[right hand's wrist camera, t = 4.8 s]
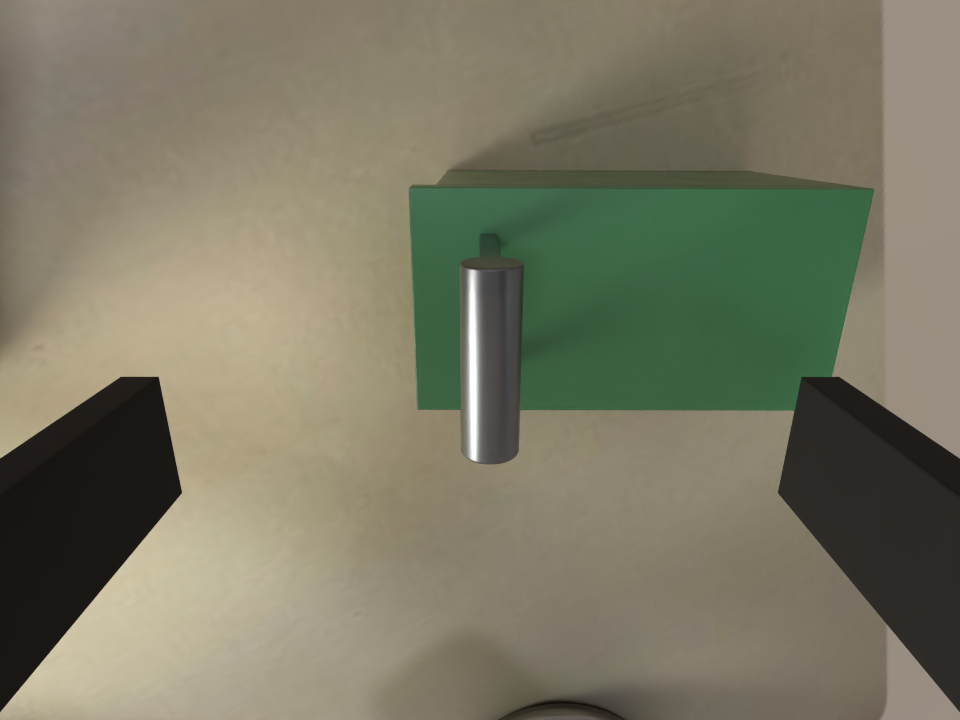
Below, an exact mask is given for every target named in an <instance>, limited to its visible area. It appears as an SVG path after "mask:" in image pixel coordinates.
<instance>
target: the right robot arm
mask: <svg viewBox="0 0 960 720" xmlns="http://www.w3.org/2000/svg"><path fill="white" fill-rule="evenodd" d="M181 493H182V490H181V485H180V480H179V476H178V471H177V466H176V461H175V456H174V451H173V446H172V441H171V436H170V431H169V426H168V421H167V416H166V411H165V407H164V402H163V397H162V392H161V387H160V382H159V377H120V378H119V379H117V380H116V381H114V382H113V383H111V384H110V385H108V386H107V387H105V388H104V389H102V390H101V391H99V392H98V393H96V394H95V395H94V396H92V397H91V398H89V399H88V400H86V401H85V402H83V403H82V404H80V405H79V406H77V407H76V408H74V409H73V410H71V411H70V412H68V413H67V414H65V415H64V416H63V417H61V418H60V419H58V420H57V421H55V422H54V423H52V424H51V425H49V426H48V427H46V428H45V429H43V430H42V431H40V432H39V433H37V434H36V435H34V436H33V437H32V438H30V439H29V440H27V441H26V442H24V443H23V444H21V445H20V446H18V447H17V448H15V449H14V450H12V451H11V452H9V453H8V454H6V455H5V456H3V457H2V458H1V459H0V712H1V710H2V709H3V708H4V707H5V706H6V704H7V703H8V702H9V701H10V700H11V698H12V697H13V696H14V695H15V694H16V692H17V691H18V690H19V689H20V688H21V686H22V685H23V684H24V683H25V681H26V680H27V679H28V678H29V677H30V675H31V674H32V673H33V672H34V671H35V669H36V668H37V667H38V666H39V665H40V663H41V662H42V661H43V660H44V659H45V657H46V656H47V655H48V654H49V653H50V651H51V650H52V649H53V648H54V647H55V645H56V644H57V643H58V642H59V641H60V639H61V638H62V637H63V636H64V634H65V633H66V632H67V631H68V630H69V628H70V627H71V626H72V625H73V624H74V622H75V621H76V620H77V619H78V618H79V616H80V615H81V614H82V613H83V612H84V610H85V609H86V608H87V607H88V606H89V604H90V603H91V602H92V601H93V600H94V598H95V597H96V596H97V595H98V594H99V592H100V591H101V590H102V589H103V587H104V586H105V585H106V584H107V583H108V581H109V580H110V579H111V578H112V577H113V575H114V574H115V573H116V572H117V571H118V569H119V568H120V567H121V566H122V565H123V563H124V562H125V561H126V560H127V559H128V557H129V556H130V555H131V554H132V553H133V551H134V550H135V549H136V548H137V547H138V545H139V544H140V543H141V542H142V540H143V539H144V538H145V537H146V536H147V534H148V533H149V532H150V531H151V530H152V528H153V527H154V526H155V525H156V524H157V522H158V521H159V520H160V519H161V518H162V516H163V515H164V514H165V513H166V512H167V510H168V509H169V508H170V507H171V506H172V504H173V503H174V502H175V501H176V500H177V498H178V497H179V496H180V495H181ZM778 493H779V495H780V496H781V497H782V498H783V500H784V501H785V502H786V503H787V504H788V506H789V507H790V508H791V509H792V510H793V512H794V513H795V514H796V515H797V516H798V518H799V519H800V520H801V521H802V522H803V524H804V525H805V526H806V527H807V528H808V530H809V531H810V532H811V533H812V534H813V536H814V537H815V538H816V539H817V540H818V542H819V543H820V544H821V545H822V547H823V548H824V549H825V550H826V551H827V553H828V554H829V555H830V556H831V557H832V559H833V560H834V561H835V562H836V563H837V565H838V566H839V567H840V568H841V569H842V571H843V572H844V573H845V574H846V575H847V577H848V578H849V579H850V580H851V581H852V583H853V584H854V585H855V586H856V587H857V589H858V590H859V591H860V592H861V594H862V595H863V596H864V597H865V598H866V600H867V601H868V602H869V603H870V604H871V606H872V607H873V608H874V609H875V610H876V612H877V613H878V614H879V615H880V616H881V618H882V619H883V620H884V621H885V622H886V624H887V625H888V626H889V627H890V628H891V630H892V631H893V632H894V633H895V634H896V636H897V637H898V638H899V639H900V641H901V642H902V643H903V644H904V645H905V647H906V648H907V649H908V650H909V651H910V652H911V654H912V655H913V656H914V657H915V659H916V660H917V661H918V662H919V663H920V665H921V666H922V667H923V668H924V669H925V671H926V672H927V673H928V674H929V675H930V677H931V678H932V679H933V680H934V681H935V683H936V684H937V685H938V686H939V688H940V689H941V690H942V691H943V692H944V694H945V695H946V696H947V697H948V698H949V700H950V701H951V702H952V703H953V704H954V706H955V707H956V708H957V709H958V710H959V712H960V459H959V458H958V457H956V456H955V455H954V454H952V453H951V452H949V451H948V450H946V449H945V448H943V447H942V446H940V445H939V444H937V443H936V442H934V441H933V440H931V439H930V438H928V437H927V436H926V435H924V434H923V433H921V432H920V431H918V430H917V429H915V428H914V427H912V426H911V425H909V424H908V423H906V422H905V421H903V420H902V419H900V418H899V417H897V416H896V415H895V414H893V413H892V412H890V411H889V410H887V409H886V408H884V407H883V406H881V405H880V404H878V403H877V402H875V401H874V400H872V399H871V398H869V397H868V396H866V395H865V394H864V393H862V392H861V391H859V390H858V389H856V388H855V387H853V386H852V385H850V384H849V383H847V382H846V381H844V380H843V379H841V378H840V377H801V382H800V387H799V392H798V397H797V402H796V407H795V411H794V416H793V421H792V426H791V431H790V436H789V441H788V446H787V451H786V456H785V461H784V466H783V471H782V476H781V480H780V485H779V490H778Z"/></svg>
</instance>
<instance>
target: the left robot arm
mask: <svg viewBox="0 0 960 720" xmlns="http://www.w3.org/2000/svg"><path fill="white" fill-rule="evenodd" d="M500 720H622V719H620V718H618V717H617V716H615V715H613V714H611V713H609V712H606V711H603V710H601V709H598V708H594V707H590V706H585V705H579V704H565V703H559V704H546V705H539V706H534V707H530V708H526V709H523V710H520V711H517V712H515V713H512V714H510V715H508V716H506V717H504V718H502V719H500Z"/></svg>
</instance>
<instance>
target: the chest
mask: <svg viewBox="0 0 960 720" xmlns="http://www.w3.org/2000/svg"><path fill="white" fill-rule="evenodd" d="M437 185H595V186H848V185H841V184H834V183H827V182H820V181H813V180H806V179H799V178H792V177H785V176H778V175H771V174H764V173H757V172H750V171H520V170H448V171H447V172H446V174H445V175H444V176H443V177H442V178H441V180H440V181H439V182H438V183H437Z"/></svg>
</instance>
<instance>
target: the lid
mask: <svg viewBox="0 0 960 720" xmlns="http://www.w3.org/2000/svg"><path fill="white" fill-rule="evenodd" d="M873 192H874V189H870V188H863V187H856V186H595V185H412V186H411V187H409V207H410V234H411V261H412V288H413V315H414V342H415V370H416V397H417V409H418V410H461V451H462V453H463V455H464V456H465V457H466V458H467V459H469V460H471V461H474V462H477V463H481V464H500V463H504V462H507V461H510V460H512V459H513V458H514V457H515V456H516V455H517V453H518V451H519V421H520V410H795V407H796V402H797V397H798V392H799V387H800V382H801V377H832V373H833V369H834V364H835V360H836V356H837V351H838V347H839V342H840V338H841V334H842V329H843V325H844V320H845V316H846V311H847V307H848V303H849V298H850V294H851V289H852V285H853V281H854V276H855V272H856V267H857V263H858V258H859V254H860V250H861V245H862V241H863V236H864V232H865V228H866V223H867V219H868V214H869V210H870V206H871V201H872V197H873Z"/></svg>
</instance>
